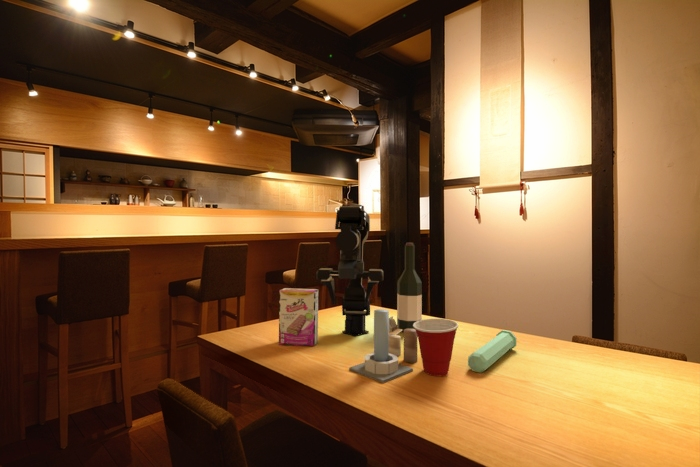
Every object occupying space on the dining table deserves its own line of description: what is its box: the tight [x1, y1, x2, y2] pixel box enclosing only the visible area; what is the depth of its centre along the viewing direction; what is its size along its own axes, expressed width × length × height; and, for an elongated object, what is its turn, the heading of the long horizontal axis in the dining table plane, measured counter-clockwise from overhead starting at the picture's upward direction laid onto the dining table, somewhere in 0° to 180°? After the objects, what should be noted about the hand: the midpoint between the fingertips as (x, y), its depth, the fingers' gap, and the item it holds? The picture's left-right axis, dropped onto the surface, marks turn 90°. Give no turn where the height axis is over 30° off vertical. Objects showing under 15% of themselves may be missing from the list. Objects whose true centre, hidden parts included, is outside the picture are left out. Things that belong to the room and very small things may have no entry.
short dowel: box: [389, 334, 402, 358], centre depth 105 cm, size 4×4×5 cm
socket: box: [348, 352, 414, 384], centre depth 93 cm, size 11×11×3 cm
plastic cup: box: [413, 318, 459, 377], centre depth 93 cm, size 11×11×12 cm
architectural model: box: [389, 315, 402, 336], centre depth 118 cm, size 3×7×7 cm, turn 153°
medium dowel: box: [403, 329, 418, 364], centre depth 101 cm, size 4×4×8 cm
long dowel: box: [373, 308, 390, 362], centre depth 93 cm, size 4×4×14 cm
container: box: [467, 329, 517, 373], centre depth 102 cm, size 6×6×25 cm
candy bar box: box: [278, 287, 319, 347], centre depth 115 cm, size 11×5×16 cm, turn 84°
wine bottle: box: [396, 242, 423, 334], centre depth 131 cm, size 8×8×30 cm
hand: (349, 304), depth 109 cm, fingers open, 9 cm apart
